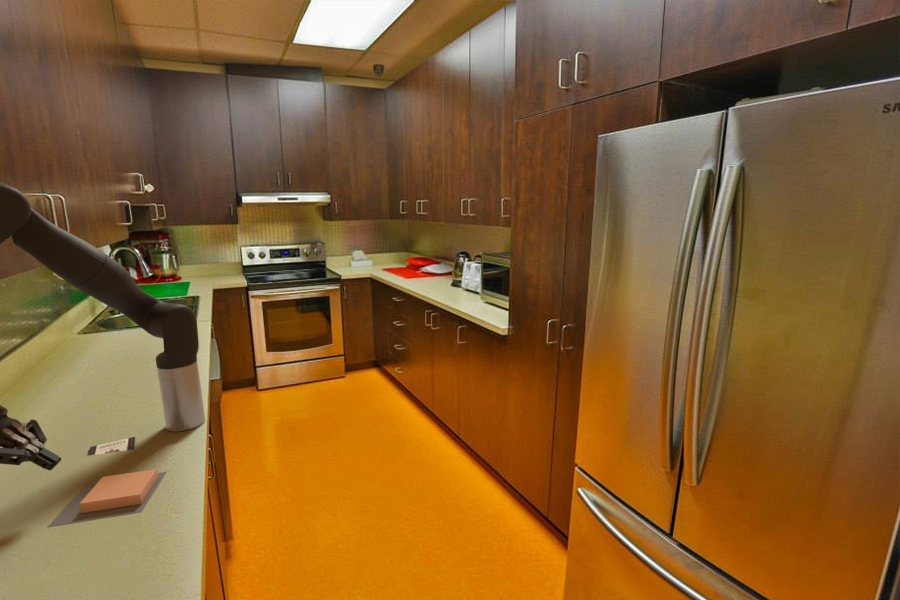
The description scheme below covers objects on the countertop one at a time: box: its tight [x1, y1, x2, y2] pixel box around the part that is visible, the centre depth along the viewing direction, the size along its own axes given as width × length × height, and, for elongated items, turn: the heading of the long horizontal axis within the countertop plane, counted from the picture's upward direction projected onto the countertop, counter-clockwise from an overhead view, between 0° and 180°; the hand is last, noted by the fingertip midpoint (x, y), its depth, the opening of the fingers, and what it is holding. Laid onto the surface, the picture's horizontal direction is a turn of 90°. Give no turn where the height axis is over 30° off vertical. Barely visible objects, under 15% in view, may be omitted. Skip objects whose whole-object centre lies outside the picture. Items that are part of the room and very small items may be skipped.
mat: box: [47, 471, 168, 528], centre depth 90 cm, size 14×15×1 cm
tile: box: [80, 468, 159, 513], centre depth 90 cm, size 9×2×10 cm
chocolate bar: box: [87, 436, 136, 456], centre depth 105 cm, size 9×1×18 cm
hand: (56, 464), depth 86 cm, fingers closed
